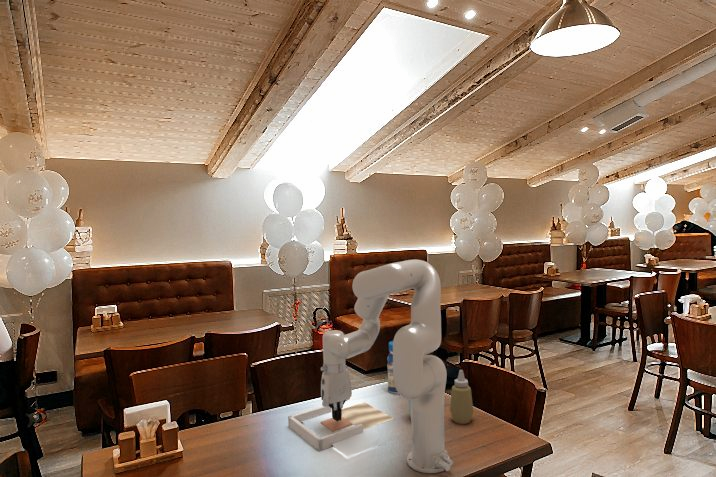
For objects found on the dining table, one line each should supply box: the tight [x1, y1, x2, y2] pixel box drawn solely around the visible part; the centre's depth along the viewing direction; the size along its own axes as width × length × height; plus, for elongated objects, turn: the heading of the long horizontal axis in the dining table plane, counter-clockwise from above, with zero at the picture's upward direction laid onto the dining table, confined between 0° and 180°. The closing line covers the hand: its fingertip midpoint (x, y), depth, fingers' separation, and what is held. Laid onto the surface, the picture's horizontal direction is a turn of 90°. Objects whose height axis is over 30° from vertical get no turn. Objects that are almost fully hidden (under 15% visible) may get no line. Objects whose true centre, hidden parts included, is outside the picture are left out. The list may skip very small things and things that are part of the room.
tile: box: [320, 416, 354, 432], centre depth 165 cm, size 8×8×2 cm
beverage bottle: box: [386, 340, 400, 395], centre depth 195 cm, size 8×8×20 cm
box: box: [287, 405, 364, 452], centre depth 162 cm, size 21×17×4 cm
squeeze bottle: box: [449, 369, 474, 425], centre depth 166 cm, size 8×8×18 cm
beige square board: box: [342, 401, 395, 431], centre depth 171 cm, size 18×14×1 cm
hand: (337, 419), depth 164 cm, fingers closed
